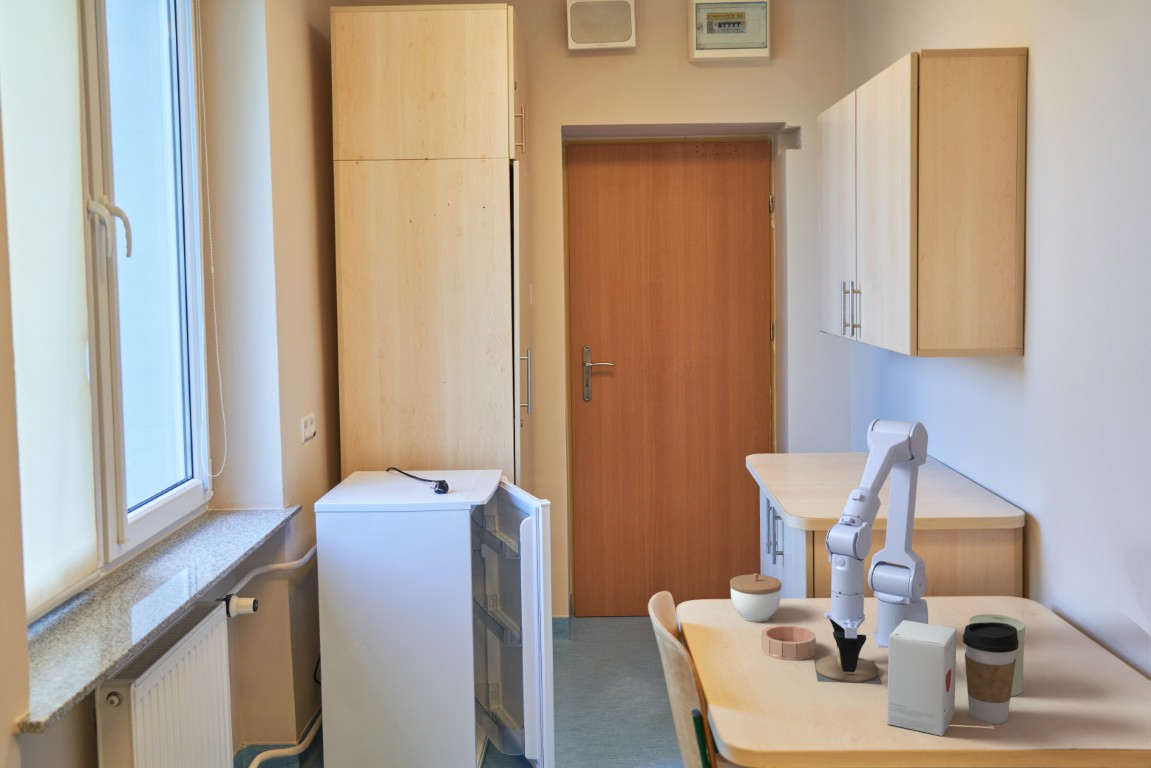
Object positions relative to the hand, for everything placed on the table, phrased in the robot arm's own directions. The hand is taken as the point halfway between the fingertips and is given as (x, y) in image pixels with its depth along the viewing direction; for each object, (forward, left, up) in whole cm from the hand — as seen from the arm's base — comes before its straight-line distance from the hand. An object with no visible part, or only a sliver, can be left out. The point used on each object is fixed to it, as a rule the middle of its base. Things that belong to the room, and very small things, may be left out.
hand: (846, 663), depth 188 cm
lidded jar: (+16, -29, -2) cm, 33 cm away
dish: (+10, -9, -2) cm, 14 cm away
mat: (0, 0, -2) cm, 2 cm away
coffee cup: (-21, +16, -2) cm, 26 cm away
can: (-25, +3, -2) cm, 25 cm away
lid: (0, 0, -1) cm, 1 cm away
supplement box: (-10, +19, -2) cm, 22 cm away
